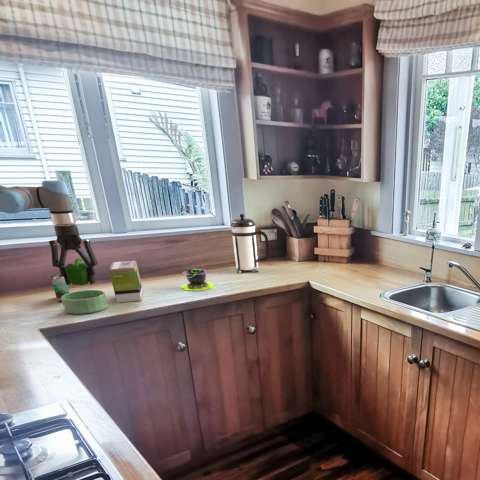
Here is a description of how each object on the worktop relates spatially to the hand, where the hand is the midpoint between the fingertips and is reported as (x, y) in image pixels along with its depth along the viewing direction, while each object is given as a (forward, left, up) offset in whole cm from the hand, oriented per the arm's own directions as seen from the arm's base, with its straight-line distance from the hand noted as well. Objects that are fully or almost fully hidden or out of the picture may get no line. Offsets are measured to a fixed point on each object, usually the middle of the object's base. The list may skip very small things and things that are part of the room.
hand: (80, 283), depth 186 cm
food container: (-15, +17, -11) cm, 25 cm away
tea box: (+12, +16, -11) cm, 23 cm away
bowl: (0, 0, -11) cm, 11 cm away
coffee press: (+60, +65, -11) cm, 89 cm away
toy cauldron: (+38, +32, -11) cm, 51 cm away
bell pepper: (0, 0, 0) cm, 1 cm away
